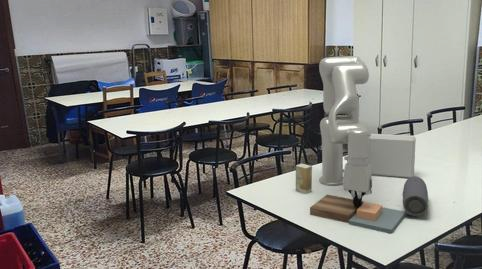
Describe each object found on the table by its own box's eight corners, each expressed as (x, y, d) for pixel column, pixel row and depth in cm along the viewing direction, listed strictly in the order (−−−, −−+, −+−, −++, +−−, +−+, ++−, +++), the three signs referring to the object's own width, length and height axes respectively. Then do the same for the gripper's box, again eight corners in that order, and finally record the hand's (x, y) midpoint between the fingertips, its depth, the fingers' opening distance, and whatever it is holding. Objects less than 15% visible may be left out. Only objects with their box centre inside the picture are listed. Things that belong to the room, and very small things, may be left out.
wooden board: (327, 201, 181) (327, 194, 181) (363, 208, 172) (364, 201, 171) (310, 214, 169) (309, 207, 168) (348, 223, 160) (348, 215, 159)
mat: (365, 207, 173) (365, 204, 172) (405, 215, 164) (405, 211, 163) (348, 224, 159) (348, 220, 158) (391, 233, 150) (391, 229, 149)
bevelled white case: (414, 174, 209) (416, 134, 205) (413, 179, 202) (415, 138, 198) (369, 170, 218) (370, 132, 214) (367, 175, 211) (368, 136, 207)
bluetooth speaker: (402, 196, 182) (403, 174, 180) (426, 198, 179) (427, 175, 177) (401, 217, 162) (402, 193, 160) (428, 220, 158) (429, 195, 156)
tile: (364, 209, 168) (364, 201, 167) (382, 212, 164) (382, 205, 163) (356, 217, 160) (356, 210, 160) (375, 221, 156) (375, 213, 156)
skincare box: (295, 191, 195) (294, 165, 192) (301, 188, 198) (300, 163, 195) (306, 194, 190) (306, 167, 188) (312, 191, 193) (312, 165, 191)
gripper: (335, 160, 162) (335, 206, 166) (374, 166, 153) (373, 213, 157) (343, 156, 168) (342, 200, 172) (381, 160, 159) (380, 207, 163)
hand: (357, 206), depth 165 cm, fingers closed
